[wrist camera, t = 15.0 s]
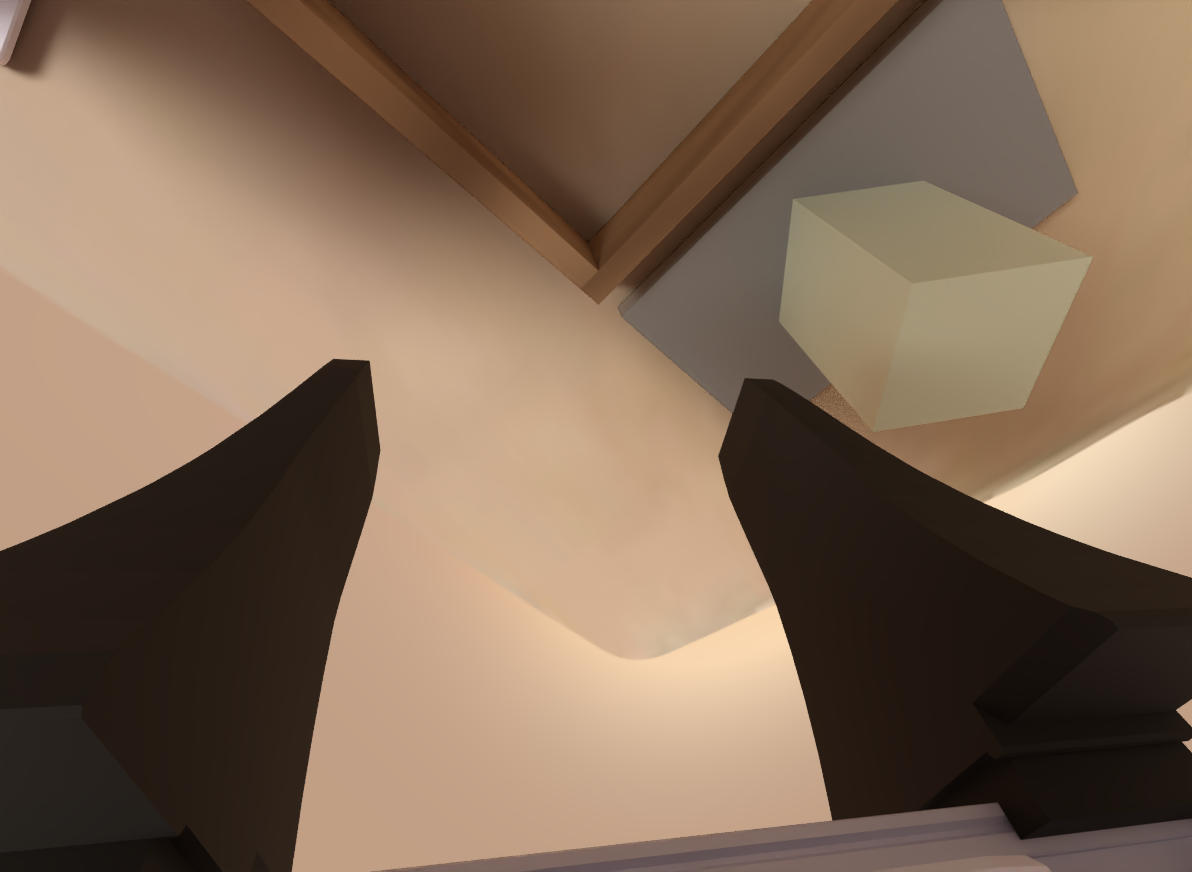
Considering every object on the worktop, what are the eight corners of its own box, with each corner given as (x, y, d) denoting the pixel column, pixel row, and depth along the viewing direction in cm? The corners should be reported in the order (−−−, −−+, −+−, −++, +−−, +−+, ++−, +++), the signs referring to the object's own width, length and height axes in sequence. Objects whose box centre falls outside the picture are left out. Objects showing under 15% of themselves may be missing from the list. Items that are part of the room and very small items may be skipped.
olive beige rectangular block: (778, 326, 22) (871, 438, 16) (792, 199, 19) (912, 283, 13) (891, 309, 22) (1021, 413, 17) (923, 180, 19) (1093, 256, 14)
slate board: (617, 307, 21) (621, 316, 21) (966, -40, 16) (985, -41, 16) (754, 427, 26) (760, 438, 25) (1060, 186, 21) (1077, 192, 20)
